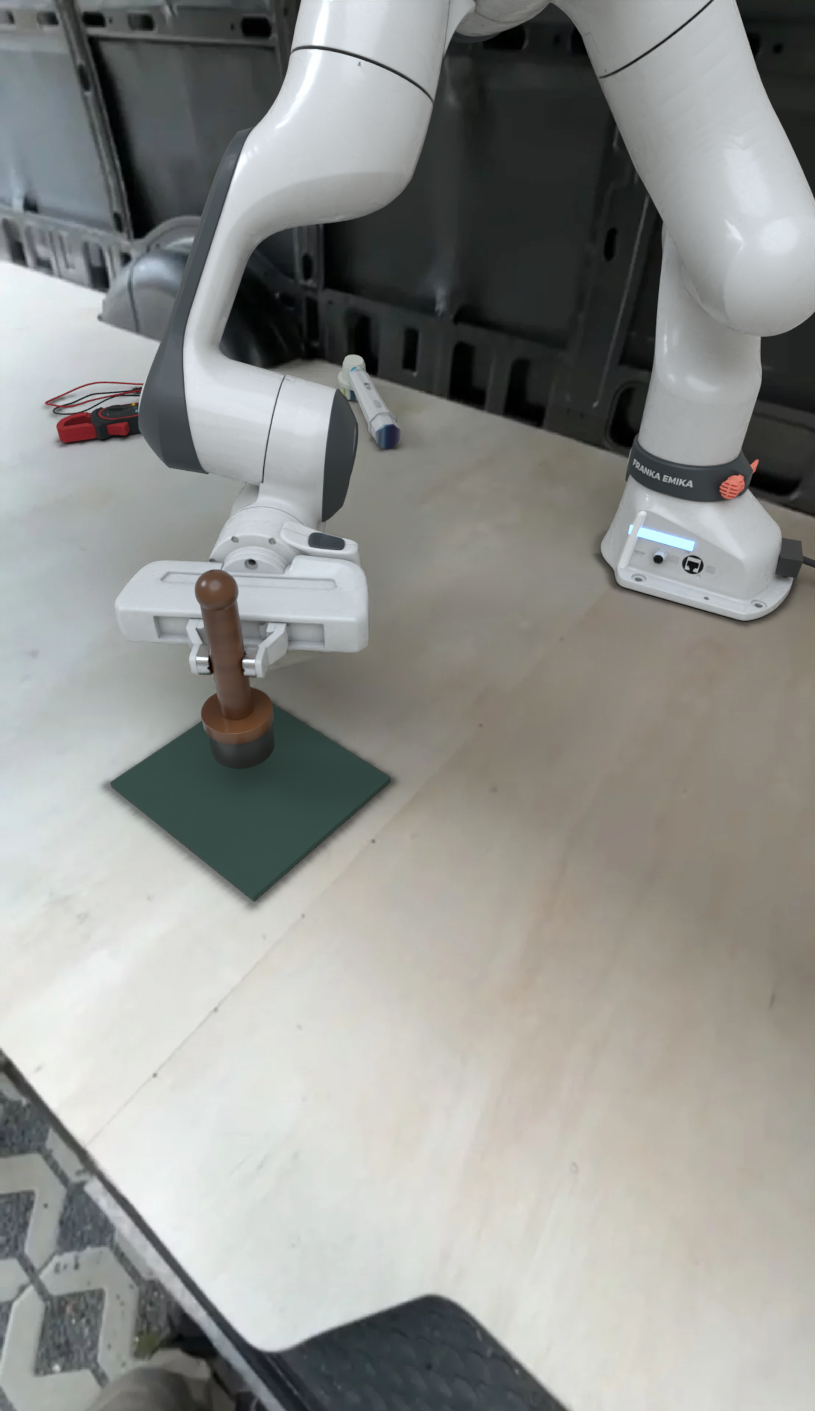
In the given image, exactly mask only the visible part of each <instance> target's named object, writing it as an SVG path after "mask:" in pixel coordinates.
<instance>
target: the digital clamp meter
mask: <svg viewBox="0 0 815 1411" xmlns="http://www.w3.org/2000/svg"><path fill="white" fill-rule="evenodd" d="M97 384H112V385H113V384H116V385H129V386H130V385H131V386H135V387H134V388H131V389H127V390H116V391H103V392H94V393H90V394H86V395H85V396H82V397H80V398H78V399H76V400H74V401H71V402H68V403H63V404H61V405H60V404H54V403H51V402H52V401H55V400H57V399H60V398H62V397H64V396H66V395H69V394H71V393H73V392H75V391H77V390H80V389H82V388H85V387H88V386H93V385H97ZM143 384H144V382H124V381H107V380H106V381H105V380H103V381H94V382H93V381H92V382H88V383H85V384H83V385H79V386H77V387H75V388H72V389H70V390H68V391H66V392H64V393H61V394H59V395H57V396H54V397H52V398H50V399H48V400H45V402H44V404H45V405H46V406H52V407H54V408H53V409H52V413H53V414H55V415H59V416H65V417H63V418H61V419H60V420H59V421H58V422H57V423H56V425H55V427H56V431H57V434H58V438H59V441H60V442H61V443H66V444H67V443H72V442H73V443H74V442H80V441H86V440H91V439H95V438H97V439H98V440H107V439H108V438H111V437H122V436H129V435H135V434H141V432H140V430H139V426H138V409H139V401H136V402H130V403H123V404H113V405H109V406H105V407H102V406H100V407H97V406H99V405H101V404H103V403H105V402H106V401H109V400H112V399H115V398H118V397H140V394H138V393H141V391H142V387H143ZM137 386H140V387H137ZM133 393H136V394H133ZM97 395H105V396H100V397H95V398H92V399H87V400H85V399H86V398H90V397H93V396H97ZM82 400H84V401H82ZM99 400H100V402H98V403H95V404H94V405H92V406H91V407H89V408H86V409H83V410H80V411H77V412H76V411H75V412H62V413H61V412H57V411H56V410H57V409H60V408H63V409H65V408H67V409H70V408H75V407H78V406H82V405H84V404H87V403H91V402H94V401H99ZM80 401H82V402H80ZM78 402H79V403H78ZM95 407H97V408H95ZM94 408H95V409H94ZM92 409H94V410H92ZM90 410H92V411H91V412H89V411H90Z"/></svg>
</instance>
